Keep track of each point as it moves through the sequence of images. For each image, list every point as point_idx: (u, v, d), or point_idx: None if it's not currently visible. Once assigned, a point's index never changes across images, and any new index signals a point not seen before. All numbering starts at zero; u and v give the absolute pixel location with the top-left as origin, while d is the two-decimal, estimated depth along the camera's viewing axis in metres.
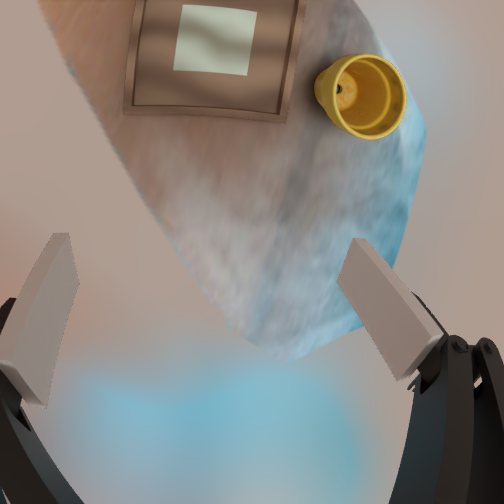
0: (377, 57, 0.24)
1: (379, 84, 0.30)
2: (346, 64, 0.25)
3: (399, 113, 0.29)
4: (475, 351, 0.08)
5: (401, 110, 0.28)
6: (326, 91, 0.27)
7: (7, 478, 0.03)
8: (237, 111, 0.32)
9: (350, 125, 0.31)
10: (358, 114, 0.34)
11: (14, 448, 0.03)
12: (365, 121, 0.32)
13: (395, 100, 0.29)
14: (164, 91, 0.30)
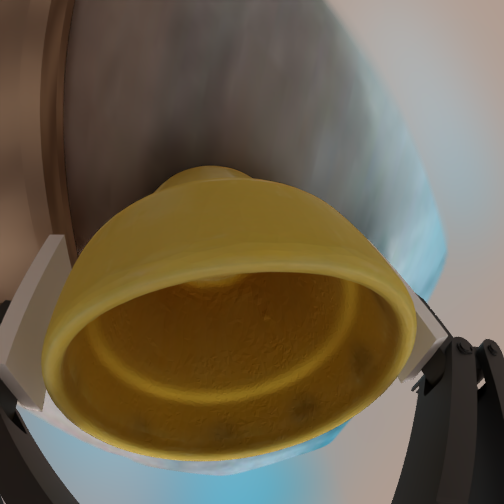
0: (255, 266, 0.04)
1: None
2: (51, 352, 0.04)
3: (364, 393, 0.09)
4: (479, 352, 0.08)
5: (374, 388, 0.08)
6: None
7: (3, 481, 0.03)
8: None
9: (206, 395, 0.11)
10: (260, 315, 0.14)
11: (9, 450, 0.03)
12: (264, 362, 0.12)
13: (368, 339, 0.09)
14: None
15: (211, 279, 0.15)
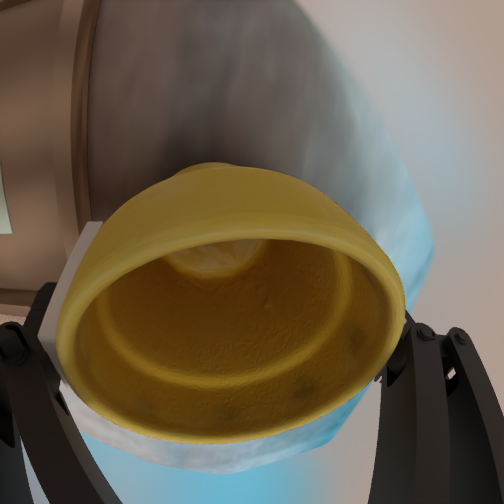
0: (250, 232, 0.05)
1: (319, 246, 0.10)
2: (67, 320, 0.05)
3: (361, 373, 0.09)
4: (446, 343, 0.09)
5: (370, 367, 0.09)
6: None
7: (41, 461, 0.04)
8: (15, 307, 0.14)
9: (210, 380, 0.12)
10: (261, 304, 0.14)
11: (54, 431, 0.04)
12: (265, 347, 0.13)
13: (363, 320, 0.09)
14: None
15: (215, 271, 0.16)
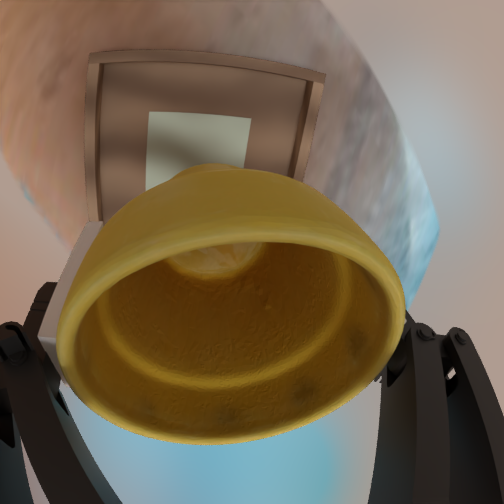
0: (251, 235, 0.05)
1: (319, 248, 0.10)
2: (67, 322, 0.05)
3: (361, 374, 0.09)
4: (446, 343, 0.09)
5: (370, 369, 0.09)
6: None
7: (41, 460, 0.04)
8: None
9: (210, 381, 0.12)
10: (261, 305, 0.14)
11: (54, 431, 0.04)
12: (265, 348, 0.13)
13: (363, 321, 0.09)
14: None
15: (215, 272, 0.16)
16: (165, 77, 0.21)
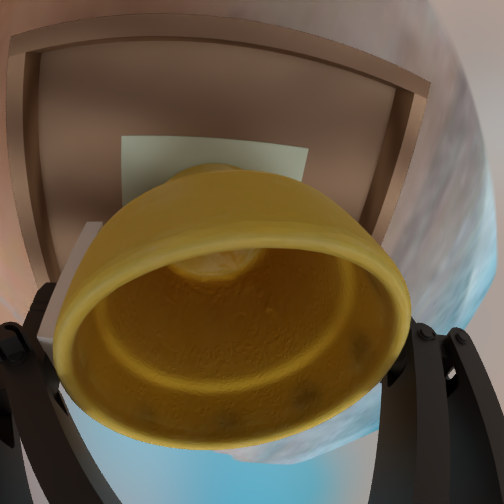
0: (255, 242, 0.05)
1: None
2: (64, 330, 0.05)
3: (364, 379, 0.09)
4: (446, 343, 0.09)
5: (373, 373, 0.09)
6: None
7: (41, 461, 0.04)
8: None
9: (210, 385, 0.12)
10: (262, 308, 0.14)
11: (53, 431, 0.04)
12: (266, 352, 0.13)
13: (366, 326, 0.09)
14: None
15: (214, 273, 0.16)
16: (150, 69, 0.10)
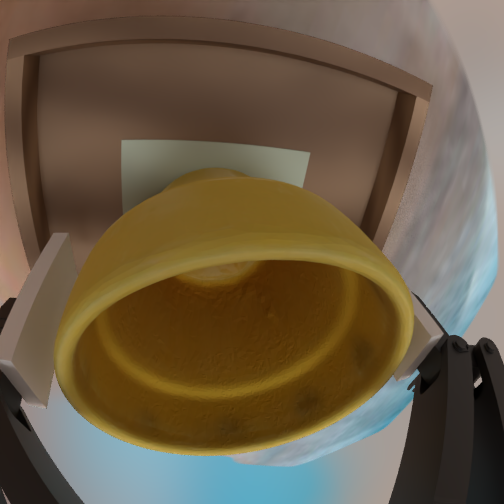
0: (259, 254, 0.05)
1: None
2: (65, 341, 0.05)
3: (366, 385, 0.09)
4: (475, 351, 0.08)
5: (375, 379, 0.09)
6: None
7: (7, 478, 0.03)
8: None
9: (212, 391, 0.12)
10: (264, 313, 0.14)
11: (13, 447, 0.03)
12: (268, 357, 0.13)
13: (369, 332, 0.09)
14: None
15: (216, 278, 0.16)
16: (150, 72, 0.10)
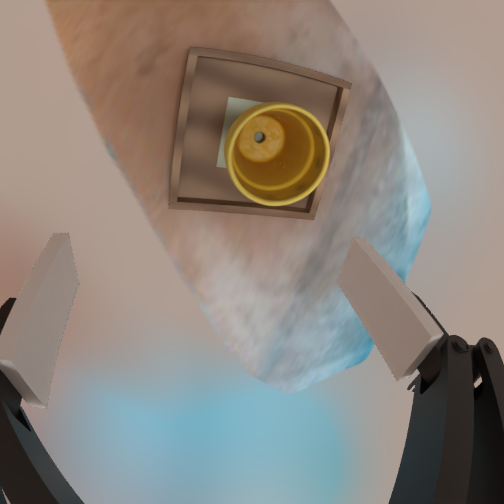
0: (288, 107, 0.24)
1: (303, 133, 0.29)
2: (244, 122, 0.24)
3: (320, 171, 0.28)
4: (475, 351, 0.08)
5: (322, 167, 0.28)
6: (225, 154, 0.27)
7: (7, 478, 0.03)
8: (273, 210, 0.39)
9: (261, 186, 0.31)
10: (280, 167, 0.33)
11: (13, 448, 0.03)
12: (283, 178, 0.32)
13: (319, 153, 0.29)
14: (207, 186, 0.37)
15: (259, 158, 0.35)
16: (242, 74, 0.30)
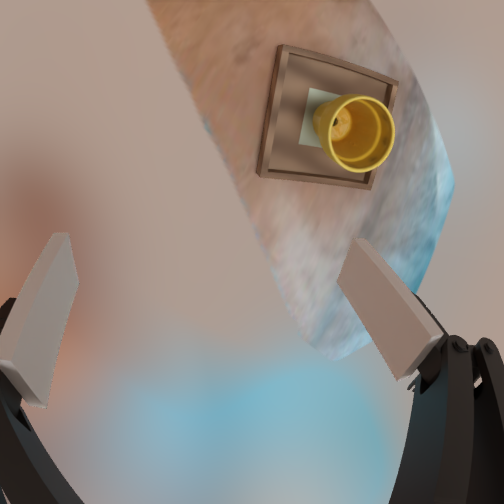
0: (369, 98, 0.30)
1: (371, 119, 0.35)
2: (341, 107, 0.30)
3: (387, 147, 0.34)
4: (475, 351, 0.08)
5: (389, 144, 0.34)
6: (322, 131, 0.33)
7: (7, 478, 0.03)
8: (342, 181, 0.45)
9: (343, 158, 0.37)
10: (352, 145, 0.40)
11: (13, 448, 0.03)
12: (357, 153, 0.38)
13: (385, 134, 0.35)
14: (290, 160, 0.43)
15: (332, 138, 0.41)
16: (319, 70, 0.36)
